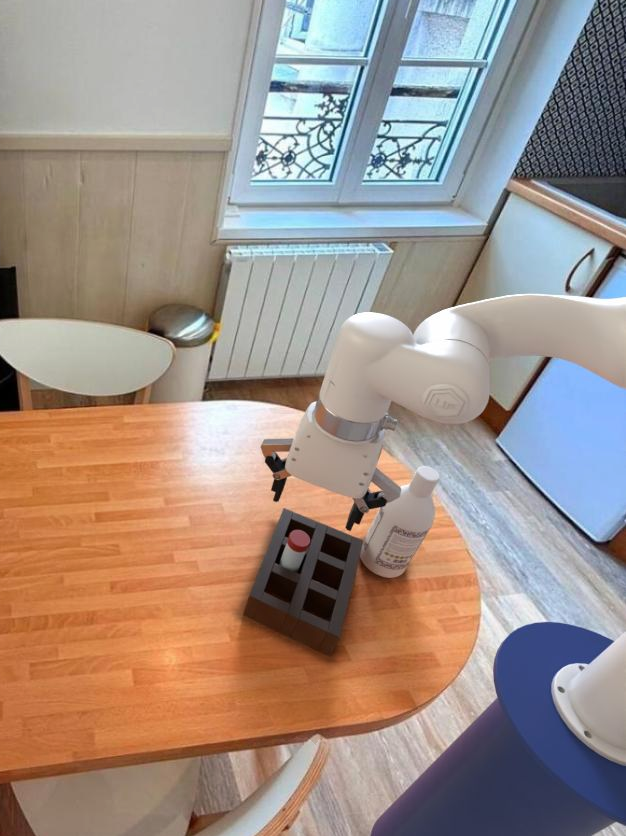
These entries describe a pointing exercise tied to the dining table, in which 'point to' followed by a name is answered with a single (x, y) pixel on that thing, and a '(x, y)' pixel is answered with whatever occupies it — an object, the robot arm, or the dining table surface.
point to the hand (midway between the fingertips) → (313, 508)
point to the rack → (306, 583)
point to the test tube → (295, 550)
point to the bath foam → (401, 526)
